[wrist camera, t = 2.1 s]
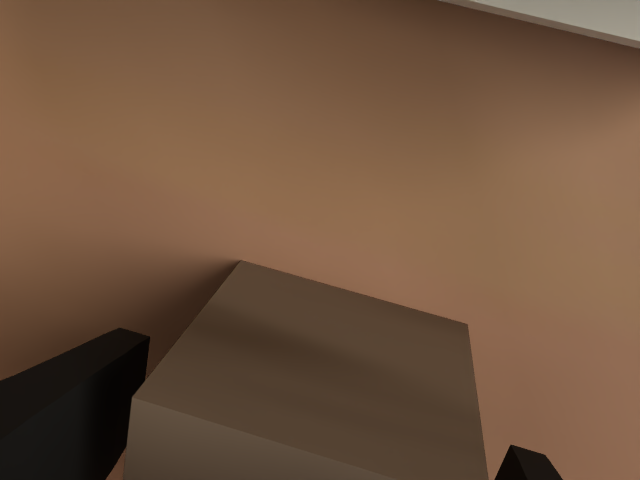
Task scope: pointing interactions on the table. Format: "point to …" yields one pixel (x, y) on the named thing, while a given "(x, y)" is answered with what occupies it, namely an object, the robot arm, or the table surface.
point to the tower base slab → (572, 16)
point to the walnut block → (308, 390)
